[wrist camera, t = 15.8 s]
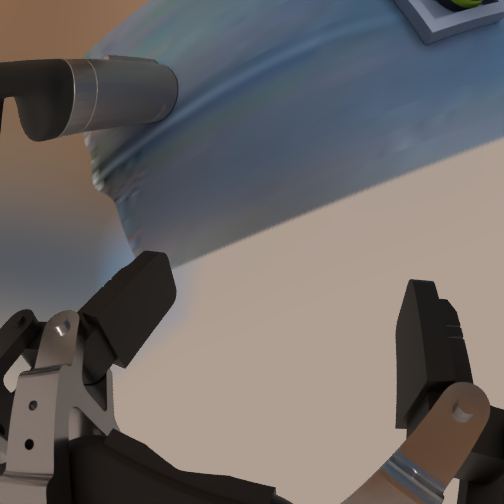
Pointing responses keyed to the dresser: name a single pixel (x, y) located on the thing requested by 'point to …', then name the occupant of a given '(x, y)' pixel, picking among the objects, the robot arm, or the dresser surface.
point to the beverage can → (461, 4)
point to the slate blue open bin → (448, 17)
